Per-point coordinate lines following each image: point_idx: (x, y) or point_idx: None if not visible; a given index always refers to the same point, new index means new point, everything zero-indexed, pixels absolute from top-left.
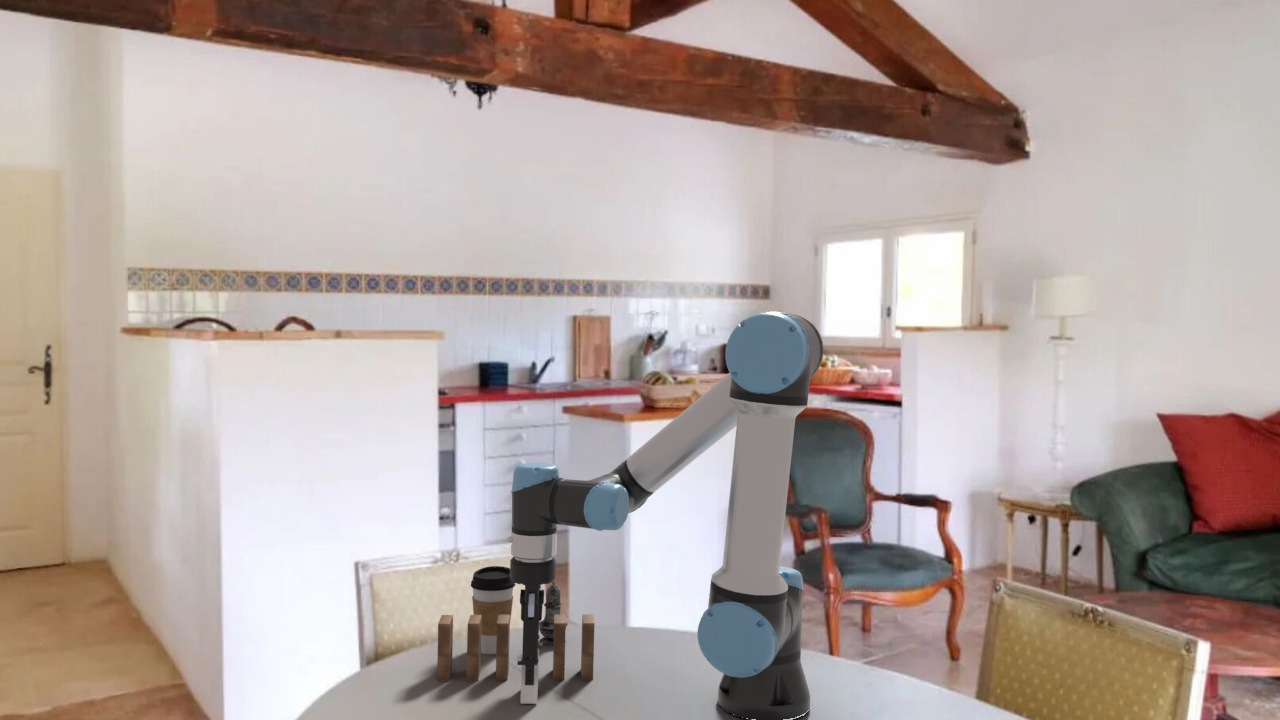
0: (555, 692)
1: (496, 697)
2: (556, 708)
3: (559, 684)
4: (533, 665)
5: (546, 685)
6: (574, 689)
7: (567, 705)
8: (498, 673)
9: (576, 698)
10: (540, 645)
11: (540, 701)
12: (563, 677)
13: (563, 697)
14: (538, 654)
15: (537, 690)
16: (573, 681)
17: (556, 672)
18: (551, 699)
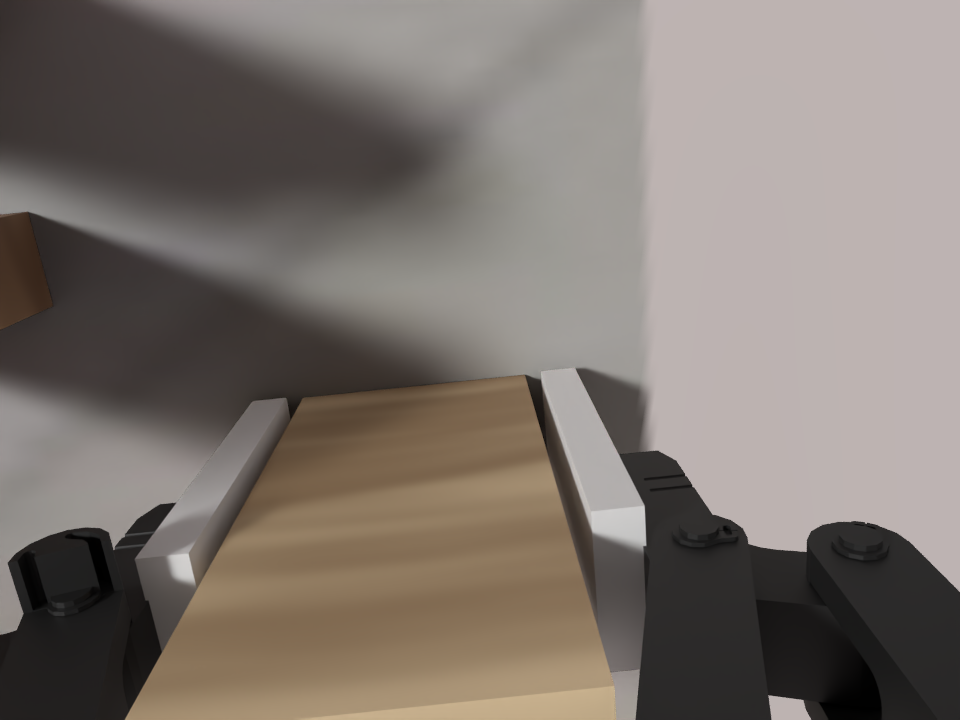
0: (313, 257)
1: None
2: (627, 216)
3: (138, 242)
4: (756, 552)
5: (180, 342)
6: (225, 104)
7: (566, 134)
8: None
9: (418, 70)
10: (93, 569)
11: (500, 348)
12: (18, 222)
13: (408, 182)
14: (203, 534)
15: (588, 400)
16: (44, 128)
17: (13, 291)
18: (456, 272)
